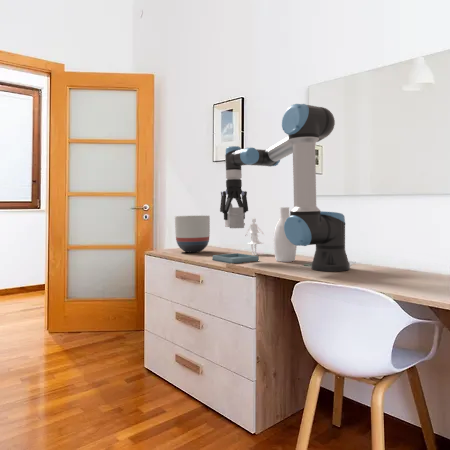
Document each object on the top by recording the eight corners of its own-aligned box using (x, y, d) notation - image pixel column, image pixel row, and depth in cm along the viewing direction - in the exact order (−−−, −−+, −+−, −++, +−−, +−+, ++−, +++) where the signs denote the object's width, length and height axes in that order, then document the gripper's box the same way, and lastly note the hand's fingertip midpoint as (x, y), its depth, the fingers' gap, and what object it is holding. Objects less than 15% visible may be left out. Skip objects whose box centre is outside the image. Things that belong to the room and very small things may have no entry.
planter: (214, 250, 257) (213, 215, 256) (204, 254, 237) (204, 216, 236) (182, 250, 262) (181, 215, 261) (170, 254, 242) (169, 216, 241)
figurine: (251, 256, 223) (251, 218, 222) (240, 254, 230) (239, 218, 230) (270, 254, 230) (269, 217, 229) (259, 253, 238) (258, 217, 237)
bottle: (301, 261, 197) (300, 207, 196) (278, 262, 195) (277, 207, 193) (291, 258, 208) (290, 207, 207) (270, 260, 205) (269, 207, 204)
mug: (233, 228, 198) (233, 202, 197) (222, 227, 208) (221, 203, 208) (247, 227, 201) (247, 202, 201) (235, 227, 212) (235, 203, 211)
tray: (258, 261, 202) (258, 256, 202) (232, 263, 194) (232, 258, 194) (237, 257, 217) (237, 253, 217) (212, 260, 209) (212, 255, 209)
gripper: (246, 180, 212) (247, 225, 213) (211, 179, 202) (212, 227, 203) (255, 179, 206) (256, 225, 207) (219, 178, 195) (220, 227, 196)
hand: (234, 226), depth 205 cm, fingers closed on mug, 7 cm apart
